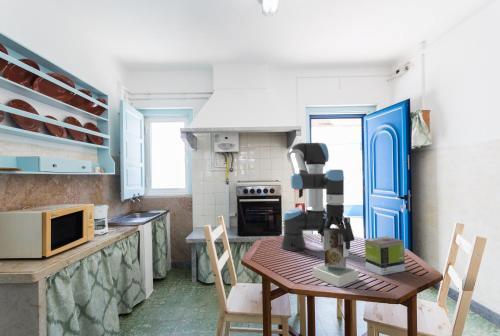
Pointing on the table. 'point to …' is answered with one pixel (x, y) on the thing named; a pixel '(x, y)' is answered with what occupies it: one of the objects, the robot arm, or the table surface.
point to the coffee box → (334, 248)
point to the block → (336, 274)
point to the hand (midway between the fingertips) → (335, 253)
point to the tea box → (384, 255)
